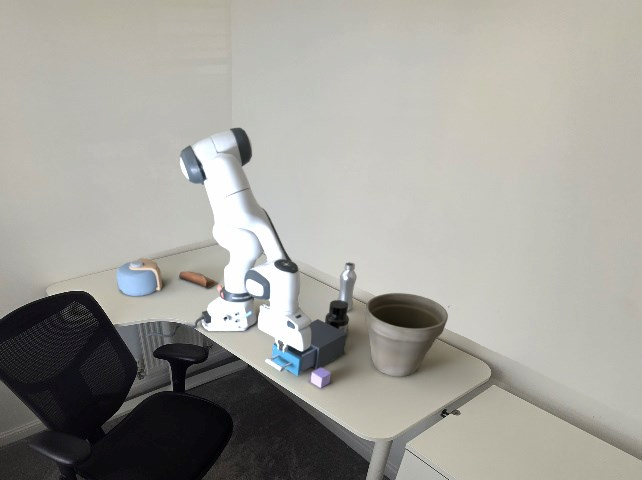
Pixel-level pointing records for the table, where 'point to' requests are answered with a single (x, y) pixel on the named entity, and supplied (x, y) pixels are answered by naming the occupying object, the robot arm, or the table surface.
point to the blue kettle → (139, 277)
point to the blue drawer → (293, 359)
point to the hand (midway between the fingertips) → (282, 350)
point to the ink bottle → (338, 315)
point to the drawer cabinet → (326, 342)
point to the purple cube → (320, 377)
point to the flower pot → (402, 330)
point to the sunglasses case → (197, 278)
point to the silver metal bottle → (347, 284)
